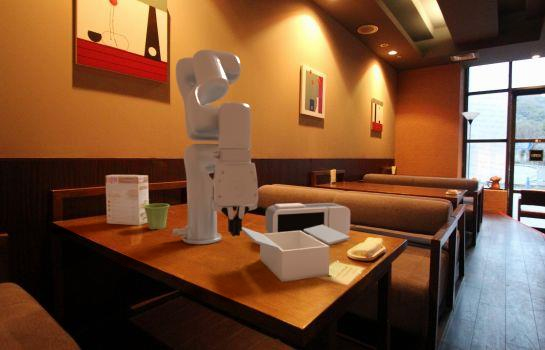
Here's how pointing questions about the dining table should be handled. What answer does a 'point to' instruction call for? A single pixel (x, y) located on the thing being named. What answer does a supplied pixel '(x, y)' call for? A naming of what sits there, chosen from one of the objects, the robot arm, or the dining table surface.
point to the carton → (295, 256)
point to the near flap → (259, 238)
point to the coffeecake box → (126, 199)
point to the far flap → (327, 234)
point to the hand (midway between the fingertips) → (234, 234)
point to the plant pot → (156, 215)
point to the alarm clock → (307, 217)
